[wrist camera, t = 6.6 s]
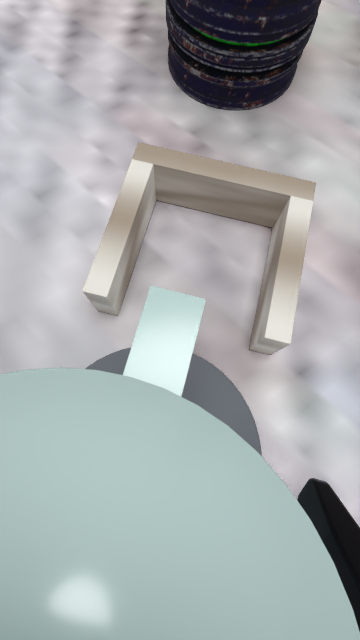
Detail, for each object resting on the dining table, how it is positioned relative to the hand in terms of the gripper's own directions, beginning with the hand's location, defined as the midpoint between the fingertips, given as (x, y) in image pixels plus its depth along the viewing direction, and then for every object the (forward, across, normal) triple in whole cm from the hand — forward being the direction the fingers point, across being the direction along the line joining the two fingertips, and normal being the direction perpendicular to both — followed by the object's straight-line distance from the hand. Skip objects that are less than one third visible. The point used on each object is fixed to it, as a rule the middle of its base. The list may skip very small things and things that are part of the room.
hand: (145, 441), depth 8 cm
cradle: (+12, 0, -2) cm, 12 cm away
